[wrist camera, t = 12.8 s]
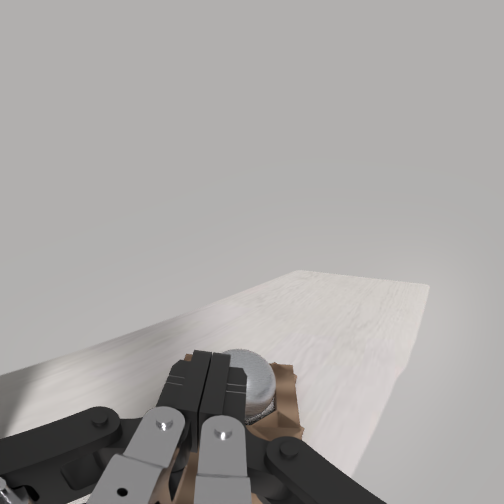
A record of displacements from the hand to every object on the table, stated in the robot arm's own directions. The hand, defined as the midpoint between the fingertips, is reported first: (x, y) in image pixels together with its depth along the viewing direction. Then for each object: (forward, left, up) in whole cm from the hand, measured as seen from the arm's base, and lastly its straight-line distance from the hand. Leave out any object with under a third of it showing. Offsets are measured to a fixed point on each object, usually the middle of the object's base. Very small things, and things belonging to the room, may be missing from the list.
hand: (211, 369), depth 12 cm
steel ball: (-11, +21, -20) cm, 31 cm away
